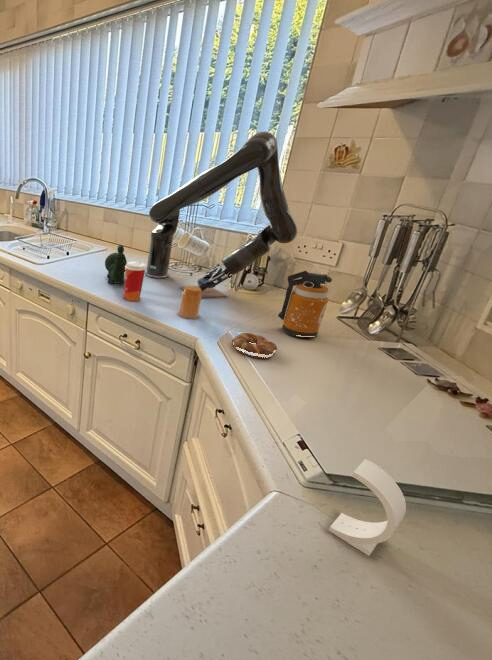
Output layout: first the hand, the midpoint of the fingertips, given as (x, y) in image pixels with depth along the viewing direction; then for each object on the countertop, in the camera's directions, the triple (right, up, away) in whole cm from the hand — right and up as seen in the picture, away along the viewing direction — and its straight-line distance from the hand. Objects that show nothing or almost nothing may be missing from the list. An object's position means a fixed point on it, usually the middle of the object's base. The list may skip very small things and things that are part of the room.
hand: (199, 286), depth 158 cm
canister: (+13, -17, -34) cm, 40 cm away
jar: (-14, -11, -20) cm, 27 cm away
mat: (+2, -3, +1) cm, 3 cm away
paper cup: (-29, -5, -5) cm, 30 cm away
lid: (+2, +2, -2) cm, 3 cm away
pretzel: (-7, -21, -43) cm, 49 cm away
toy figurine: (-29, +3, +16) cm, 33 cm away
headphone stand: (-25, -43, -98) cm, 110 cm away
